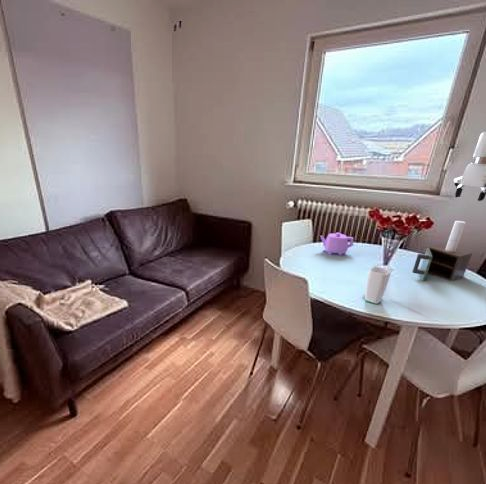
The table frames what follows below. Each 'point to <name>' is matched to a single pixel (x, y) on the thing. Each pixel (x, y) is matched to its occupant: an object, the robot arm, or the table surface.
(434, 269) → the cupboard
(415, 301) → the table surface
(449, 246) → the tube
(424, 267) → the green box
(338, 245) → the teapot
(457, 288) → the table surface
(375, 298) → the cup
